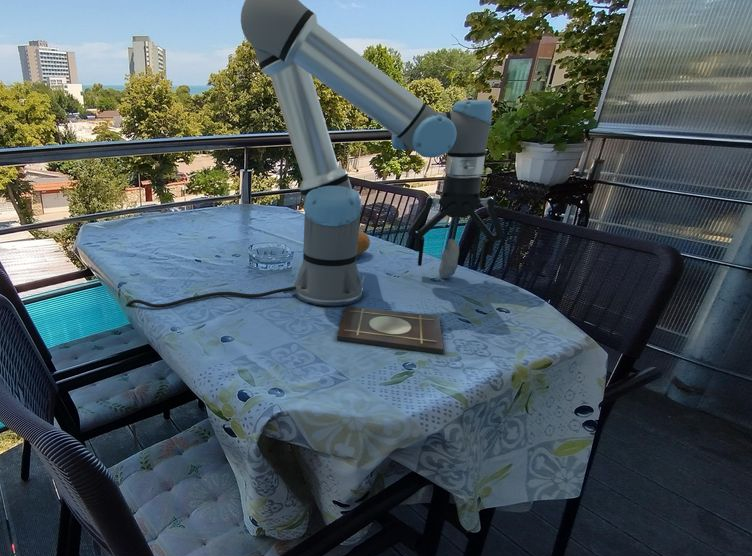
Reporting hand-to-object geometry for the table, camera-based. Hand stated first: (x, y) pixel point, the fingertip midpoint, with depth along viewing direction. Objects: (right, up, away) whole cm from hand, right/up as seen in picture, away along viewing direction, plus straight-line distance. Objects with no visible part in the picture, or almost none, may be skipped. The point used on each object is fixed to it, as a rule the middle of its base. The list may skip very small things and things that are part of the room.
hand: (450, 265), depth 112 cm
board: (-23, -14, -22) cm, 35 cm away
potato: (-18, +4, +21) cm, 28 cm away
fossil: (0, -3, +1) cm, 4 cm away
